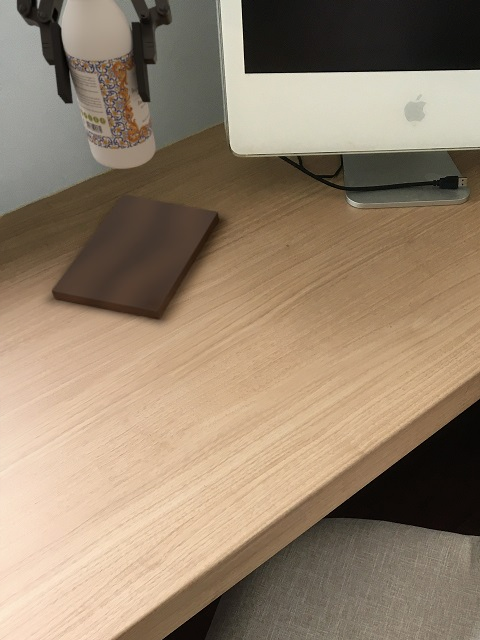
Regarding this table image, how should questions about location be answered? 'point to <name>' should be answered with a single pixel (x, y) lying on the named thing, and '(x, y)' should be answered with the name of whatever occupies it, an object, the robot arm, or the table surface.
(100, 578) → the table surface
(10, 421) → the table surface
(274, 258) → the table surface
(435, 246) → the table surface
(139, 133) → the bath foam
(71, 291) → the walnut board
